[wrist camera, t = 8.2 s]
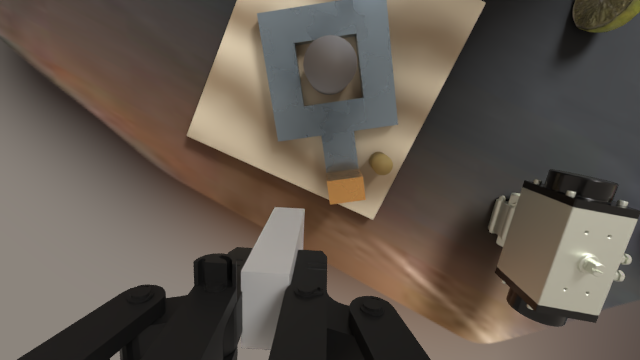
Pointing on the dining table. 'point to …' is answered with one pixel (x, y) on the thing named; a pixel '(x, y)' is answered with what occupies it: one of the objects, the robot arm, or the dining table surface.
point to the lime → (604, 14)
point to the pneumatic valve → (562, 246)
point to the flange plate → (342, 116)
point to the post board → (305, 156)
